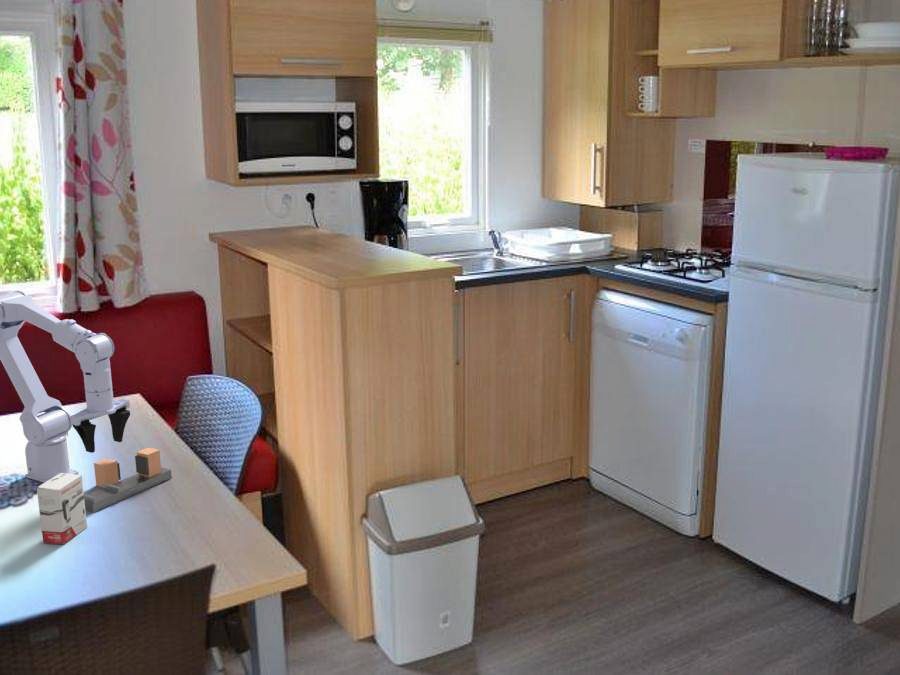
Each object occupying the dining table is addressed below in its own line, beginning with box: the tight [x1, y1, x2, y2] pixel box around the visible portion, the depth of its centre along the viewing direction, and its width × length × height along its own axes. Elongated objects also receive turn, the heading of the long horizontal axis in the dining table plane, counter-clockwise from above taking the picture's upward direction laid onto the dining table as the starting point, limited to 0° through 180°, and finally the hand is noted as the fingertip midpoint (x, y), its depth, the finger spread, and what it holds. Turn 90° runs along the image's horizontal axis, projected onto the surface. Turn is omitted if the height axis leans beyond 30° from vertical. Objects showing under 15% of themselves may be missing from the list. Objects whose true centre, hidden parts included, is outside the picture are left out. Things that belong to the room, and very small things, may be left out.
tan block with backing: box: [93, 457, 122, 488], centre depth 216 cm, size 4×4×6 cm
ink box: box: [36, 473, 88, 545], centre depth 190 cm, size 9×5×12 cm, turn 168°
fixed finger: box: [134, 447, 162, 478], centre depth 216 cm, size 4×4×6 cm
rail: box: [84, 467, 173, 513], centre depth 211 cm, size 5×22×3 cm, turn 149°
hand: (104, 446), depth 214 cm, fingers open, 7 cm apart
